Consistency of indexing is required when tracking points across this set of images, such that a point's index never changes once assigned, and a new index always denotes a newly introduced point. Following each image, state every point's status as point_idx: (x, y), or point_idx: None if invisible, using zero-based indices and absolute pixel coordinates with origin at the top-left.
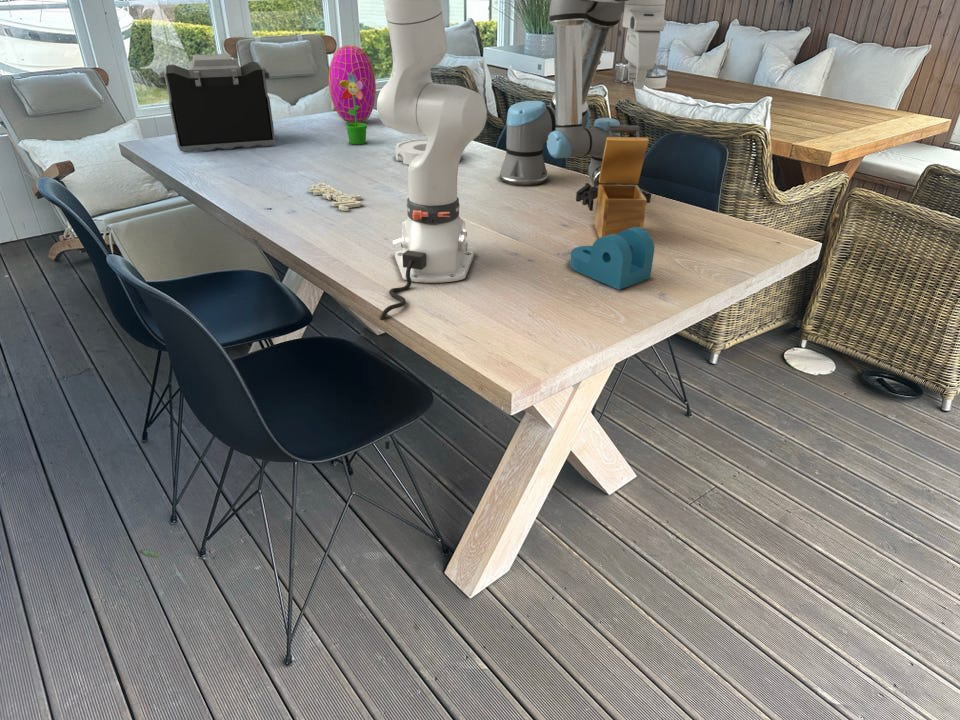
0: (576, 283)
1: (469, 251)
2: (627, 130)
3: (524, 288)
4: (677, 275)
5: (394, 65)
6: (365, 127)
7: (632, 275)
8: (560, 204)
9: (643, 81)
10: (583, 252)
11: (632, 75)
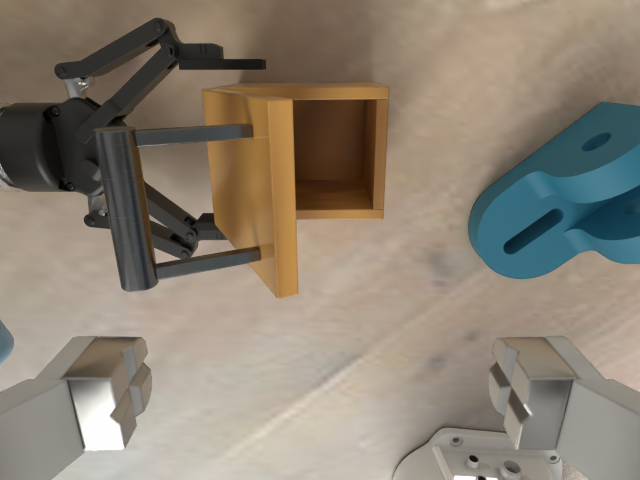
0: (597, 260)
1: (445, 440)
2: (143, 191)
3: (603, 349)
4: (592, 26)
5: None
6: None
7: None
8: (89, 255)
9: (597, 381)
10: (519, 252)
11: (122, 414)
